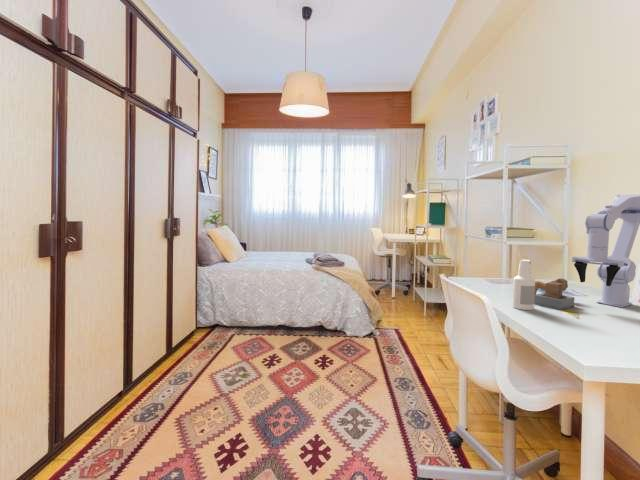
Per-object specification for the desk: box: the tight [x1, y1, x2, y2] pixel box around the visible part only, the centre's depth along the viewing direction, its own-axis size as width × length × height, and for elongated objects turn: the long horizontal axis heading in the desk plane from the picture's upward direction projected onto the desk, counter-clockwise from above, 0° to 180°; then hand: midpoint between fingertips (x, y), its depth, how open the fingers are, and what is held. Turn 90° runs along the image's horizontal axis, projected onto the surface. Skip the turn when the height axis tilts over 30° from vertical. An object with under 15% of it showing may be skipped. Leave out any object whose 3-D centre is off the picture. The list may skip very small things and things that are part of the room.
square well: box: [534, 291, 575, 311], centre depth 123 cm, size 10×10×4 cm
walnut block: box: [545, 281, 564, 299], centre depth 123 cm, size 4×4×8 cm
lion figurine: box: [535, 278, 569, 295], centre depth 134 cm, size 15×5×9 cm, turn 47°
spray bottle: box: [511, 259, 536, 311], centre depth 119 cm, size 7×7×18 cm
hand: (595, 283), depth 117 cm, fingers open, 7 cm apart
